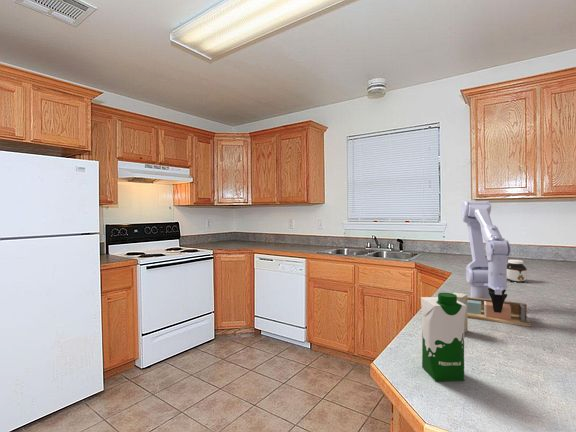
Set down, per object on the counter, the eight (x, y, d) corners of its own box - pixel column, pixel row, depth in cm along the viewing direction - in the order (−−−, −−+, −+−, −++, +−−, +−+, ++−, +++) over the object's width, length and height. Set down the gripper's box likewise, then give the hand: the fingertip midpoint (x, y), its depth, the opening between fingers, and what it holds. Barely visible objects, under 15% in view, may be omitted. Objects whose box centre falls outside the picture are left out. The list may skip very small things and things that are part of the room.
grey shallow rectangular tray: (518, 316, 121) (518, 302, 121) (527, 317, 120) (527, 303, 120) (521, 321, 115) (521, 307, 115) (529, 323, 114) (530, 308, 114)
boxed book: (484, 312, 125) (484, 301, 125) (509, 316, 121) (509, 304, 121) (484, 316, 121) (484, 304, 121) (510, 320, 117) (510, 307, 117)
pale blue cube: (466, 309, 129) (466, 299, 129) (480, 311, 127) (481, 301, 126) (465, 312, 125) (465, 302, 125) (481, 314, 123) (481, 303, 123)
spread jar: (507, 282, 180) (507, 261, 179) (500, 278, 191) (500, 258, 190) (533, 283, 176) (533, 262, 176) (524, 279, 187) (525, 259, 187)
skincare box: (461, 335, 105) (461, 297, 105) (446, 332, 108) (447, 295, 108) (468, 330, 109) (468, 294, 109) (453, 327, 112) (454, 291, 112)
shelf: (464, 309, 133) (465, 296, 132) (525, 316, 123) (526, 303, 123) (464, 317, 122) (464, 303, 122) (530, 326, 113) (530, 312, 113)
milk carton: (433, 383, 76) (433, 297, 76) (416, 365, 85) (417, 288, 85) (470, 382, 77) (471, 297, 76) (450, 364, 86) (450, 287, 85)
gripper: (484, 269, 129) (483, 303, 129) (485, 275, 116) (484, 313, 117) (505, 270, 125) (505, 306, 126) (509, 277, 113) (508, 316, 113)
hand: (497, 310), depth 121 cm, fingers closed on boxed book, 5 cm apart
